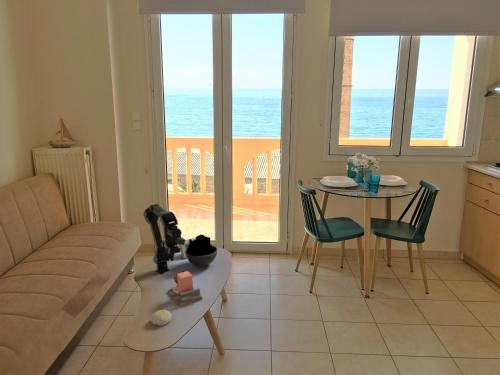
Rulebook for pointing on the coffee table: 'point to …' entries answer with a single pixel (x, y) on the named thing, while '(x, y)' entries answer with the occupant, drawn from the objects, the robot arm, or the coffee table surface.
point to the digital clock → (185, 247)
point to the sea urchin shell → (161, 317)
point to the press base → (185, 296)
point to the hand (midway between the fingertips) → (172, 260)
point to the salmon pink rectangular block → (184, 282)
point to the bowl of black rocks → (201, 251)
